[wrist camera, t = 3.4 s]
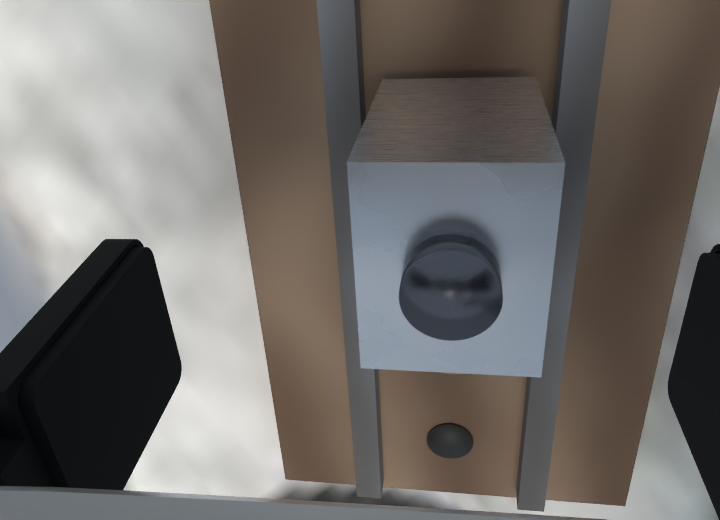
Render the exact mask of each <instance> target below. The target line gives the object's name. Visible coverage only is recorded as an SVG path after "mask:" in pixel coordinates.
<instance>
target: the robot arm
mask: <svg viewBox="0 0 720 520" xmlns="http://www.w3.org/2000/svg"><path fill="white" fill-rule="evenodd" d="M180 377H181V360H180V356H179V352H178V349H177V345H176V341H175V337H174V333H173V329H172V325H171V321H170V318H169V314H168V310H167V306H166V302H165V298H164V294H163V290H162V287H161V283H160V279H159V275H158V271H157V267H156V263H155V259H154V256H153V253H152V251H151V249H150V248H148V247H144V246H143V244H142V243H141V242H140V241H139V240H137V239H105V240H104V241H103V242H101V244H100V245H99V246H98V247H97V248H96V249H95V250H94V251H93V252H92V253H91V254H90V256H89V257H88V258H87V259H86V260H85V261H84V262H83V263H82V264H81V265H80V266H79V268H78V269H77V270H76V271H75V272H74V273H73V274H72V275H71V276H70V277H69V278H68V280H67V281H66V282H65V283H64V284H63V285H62V286H61V287H60V288H59V289H58V290H57V292H56V293H55V294H54V295H53V296H52V297H51V298H50V299H49V300H48V301H47V303H46V304H45V305H44V306H43V307H42V308H41V309H40V310H39V311H38V312H37V314H36V315H35V316H34V317H33V318H32V319H31V320H30V321H29V322H28V323H27V324H26V325H25V327H24V328H23V329H22V330H21V331H20V332H19V333H18V334H17V335H16V336H15V337H14V339H13V340H12V341H11V342H10V343H9V344H8V345H7V346H6V347H5V348H4V350H3V351H2V352H1V353H0V520H605V519H590V518H575V517H560V516H545V515H530V514H515V513H499V512H484V511H469V510H452V509H436V508H420V507H404V506H387V505H371V504H354V503H338V502H321V501H304V500H287V499H270V498H252V497H234V496H216V495H198V494H179V493H161V492H143V491H125V490H123V489H124V487H125V485H126V483H127V481H128V479H129V478H130V476H131V474H132V472H133V470H134V468H135V466H136V464H137V462H138V460H139V458H140V456H141V454H142V453H143V451H144V449H145V447H146V445H147V443H148V441H149V439H150V437H151V435H152V433H153V431H154V429H155V427H156V426H157V424H158V422H159V420H160V418H161V416H162V414H163V412H164V410H165V408H166V406H167V404H168V402H169V400H170V399H171V397H172V395H173V393H174V391H175V389H176V387H177V385H178V383H179V381H180ZM668 394H669V399H670V402H671V404H672V407H673V409H674V412H675V414H676V416H677V419H678V421H679V424H680V426H681V428H682V431H683V433H684V436H685V438H686V441H687V443H688V445H689V448H690V450H691V453H692V455H693V457H694V460H695V462H696V465H697V467H698V470H699V472H700V474H701V477H702V479H703V482H704V484H705V486H706V489H707V491H708V494H709V496H710V499H711V501H712V503H713V506H714V508H715V511H716V513H717V515H718V518H719V520H720V244H717V245H715V246H714V247H713V249H712V250H711V253H703V254H701V256H700V257H699V260H698V263H697V267H696V271H695V275H694V279H693V283H692V287H691V291H690V295H689V299H688V303H687V307H686V311H685V315H684V319H683V323H682V327H681V331H680V335H679V339H678V343H677V347H676V351H675V355H674V359H673V363H672V367H671V371H670V375H669V380H668Z"/></svg>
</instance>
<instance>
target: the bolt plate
mask: <svg viewBox="0 0 720 520" xmlns="http://www.w3.org/2000/svg"><path fill="white" fill-rule="evenodd" d="M209 2H210V8H211V14H212V21H213V27H214V33H215V39H216V46H217V52H218V58H219V64H220V71H221V77H222V83H223V90H224V96H225V102H226V108H227V115H228V121H229V127H230V133H231V140H232V146H233V152H234V159H235V165H236V171H237V177H238V184H239V190H240V196H241V202H242V209H243V215H244V221H245V227H246V234H247V240H248V246H249V253H250V259H251V265H252V271H253V278H254V284H255V290H256V296H257V303H258V309H259V315H260V322H261V328H262V334H263V340H264V347H265V353H266V359H267V365H268V372H269V378H270V384H271V390H272V397H273V403H274V409H275V416H276V422H277V428H278V434H279V441H280V447H281V453H282V459H283V466H284V472H285V478H286V479H288V480H300V481H313V482H326V483H339V484H351V485H356V491H357V496H358V497H371V498H381V497H382V489H383V487H389V488H402V489H415V490H428V491H440V492H453V493H466V494H479V495H491V496H504V497H517V508H518V510H531V511H543V512H544V506H545V500H555V501H568V502H580V503H593V504H606V505H619V506H625V504H626V500H627V496H628V491H629V487H630V482H631V478H632V473H633V469H634V464H635V460H636V455H637V451H638V447H639V442H640V438H641V433H642V429H643V424H644V420H645V415H646V411H647V406H648V402H649V398H650V393H651V389H652V384H653V380H654V375H655V371H656V366H657V362H658V357H659V353H660V348H661V344H662V340H663V335H664V331H665V326H666V322H667V317H668V313H669V308H670V304H671V299H672V295H673V291H674V286H675V282H676V277H677V273H678V268H679V264H680V259H681V255H682V250H683V246H684V242H685V237H686V233H687V228H688V224H689V219H690V215H691V210H692V206H693V201H694V197H695V193H696V188H697V184H698V179H699V175H700V170H701V166H702V161H703V157H704V152H705V148H706V144H707V139H708V135H709V130H710V126H711V121H712V117H713V112H714V108H715V103H716V99H717V95H718V90H719V86H720V0H209ZM487 77H536V80H537V82H538V85H539V88H540V91H541V94H542V97H543V100H544V103H545V106H546V108H547V111H548V114H549V117H550V120H551V123H552V126H553V129H554V131H555V134H556V137H557V140H558V143H559V146H560V149H561V152H562V155H563V157H564V160H565V171H564V180H563V188H562V197H561V206H560V215H559V224H558V233H557V242H556V251H555V260H554V269H553V278H552V287H551V296H550V305H549V313H548V322H547V331H546V340H545V349H544V358H543V367H542V376H541V377H522V376H503V375H483V374H463V373H444V372H424V371H405V370H385V369H365V368H361V365H360V350H359V335H358V320H357V306H356V291H355V276H354V261H353V247H352V232H351V217H350V202H349V188H348V173H347V161H348V158H349V156H350V154H351V151H352V149H353V147H354V144H355V142H356V140H357V137H358V135H359V133H360V130H361V128H362V126H363V123H364V121H365V119H366V116H367V114H368V112H369V109H370V107H371V105H372V102H373V100H374V98H375V95H376V93H377V91H378V88H379V86H380V84H381V81H382V79H427V78H487Z"/></svg>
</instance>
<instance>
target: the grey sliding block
mask: <svg viewBox="0 0 720 520" xmlns="http://www.w3.org/2000/svg"><path fill="white" fill-rule="evenodd" d="M564 171H565V160H564V157H563V155H562V152H561V149H560V146H559V143H558V140H557V137H556V134H555V131H554V129H553V126H552V123H551V120H550V117H549V114H548V111H547V108H546V106H545V103H544V100H543V97H542V94H541V91H540V88H539V85H538V82H537V80H536V77H487V78H427V79H382V81H381V84H380V86H379V88H378V91H377V93H376V95H375V98H374V100H373V102H372V105H371V107H370V109H369V112H368V114H367V116H366V119H365V121H364V123H363V126H362V128H361V130H360V133H359V135H358V137H357V140H356V142H355V144H354V147H353V149H352V151H351V154H350V156H349V158H348V161H347V173H348V188H349V202H350V217H351V232H352V247H353V261H354V276H355V291H356V306H357V320H358V335H359V350H360V365H361V368H365V369H385V370H405V371H424V372H444V373H463V374H483V375H503V376H522V377H541V376H542V367H543V358H544V349H545V340H546V331H547V322H548V313H549V305H550V296H551V287H552V278H553V269H554V260H555V251H556V242H557V233H558V224H559V215H560V206H561V197H562V188H563V180H564Z"/></svg>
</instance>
